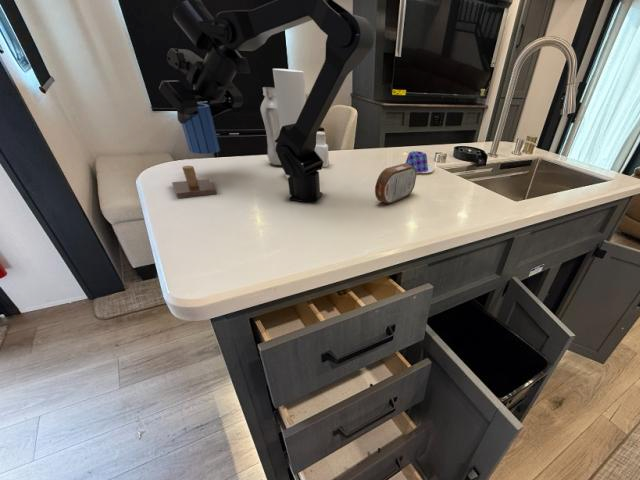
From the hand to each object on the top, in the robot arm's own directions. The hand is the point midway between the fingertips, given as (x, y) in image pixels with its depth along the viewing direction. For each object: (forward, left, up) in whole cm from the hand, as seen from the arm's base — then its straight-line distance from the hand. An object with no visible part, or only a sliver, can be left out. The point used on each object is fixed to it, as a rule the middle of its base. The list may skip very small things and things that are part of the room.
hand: (192, 120), depth 79 cm
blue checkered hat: (-55, -29, -13) cm, 64 cm away
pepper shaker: (-25, -21, -13) cm, 35 cm away
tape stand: (-3, +11, -13) cm, 18 cm away
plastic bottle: (-13, -17, -13) cm, 25 cm away
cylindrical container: (-22, -8, -13) cm, 27 cm away
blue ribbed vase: (-1, 0, -7) cm, 7 cm away
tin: (-51, +1, -13) cm, 53 cm away
